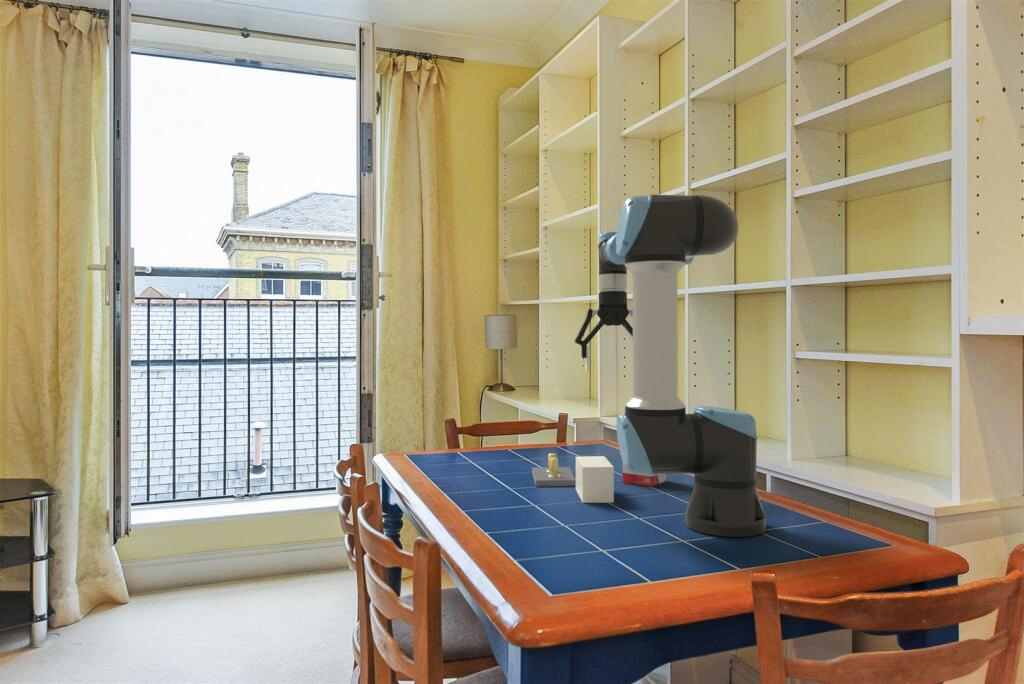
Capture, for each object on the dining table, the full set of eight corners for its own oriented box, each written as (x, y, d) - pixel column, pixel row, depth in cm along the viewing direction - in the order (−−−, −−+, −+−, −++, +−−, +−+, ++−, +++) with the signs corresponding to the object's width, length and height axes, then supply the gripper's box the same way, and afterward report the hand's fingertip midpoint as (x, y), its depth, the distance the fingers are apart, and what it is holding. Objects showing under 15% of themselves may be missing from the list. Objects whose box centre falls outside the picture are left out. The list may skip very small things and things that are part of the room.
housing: (613, 502, 153) (613, 466, 152) (582, 502, 152) (582, 467, 152) (604, 489, 166) (604, 456, 165) (575, 489, 165) (575, 456, 165)
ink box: (652, 487, 167) (652, 439, 167) (621, 482, 172) (621, 436, 172) (667, 481, 174) (667, 434, 174) (636, 476, 179) (636, 432, 179)
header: (576, 486, 169) (575, 461, 169) (535, 486, 169) (535, 462, 168) (568, 472, 185) (568, 450, 185) (532, 473, 185) (532, 451, 184)
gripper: (655, 291, 186) (656, 369, 186) (564, 291, 185) (565, 369, 185) (662, 289, 178) (662, 370, 178) (567, 290, 177) (568, 371, 178)
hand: (613, 370), depth 182 cm, fingers open, 13 cm apart
